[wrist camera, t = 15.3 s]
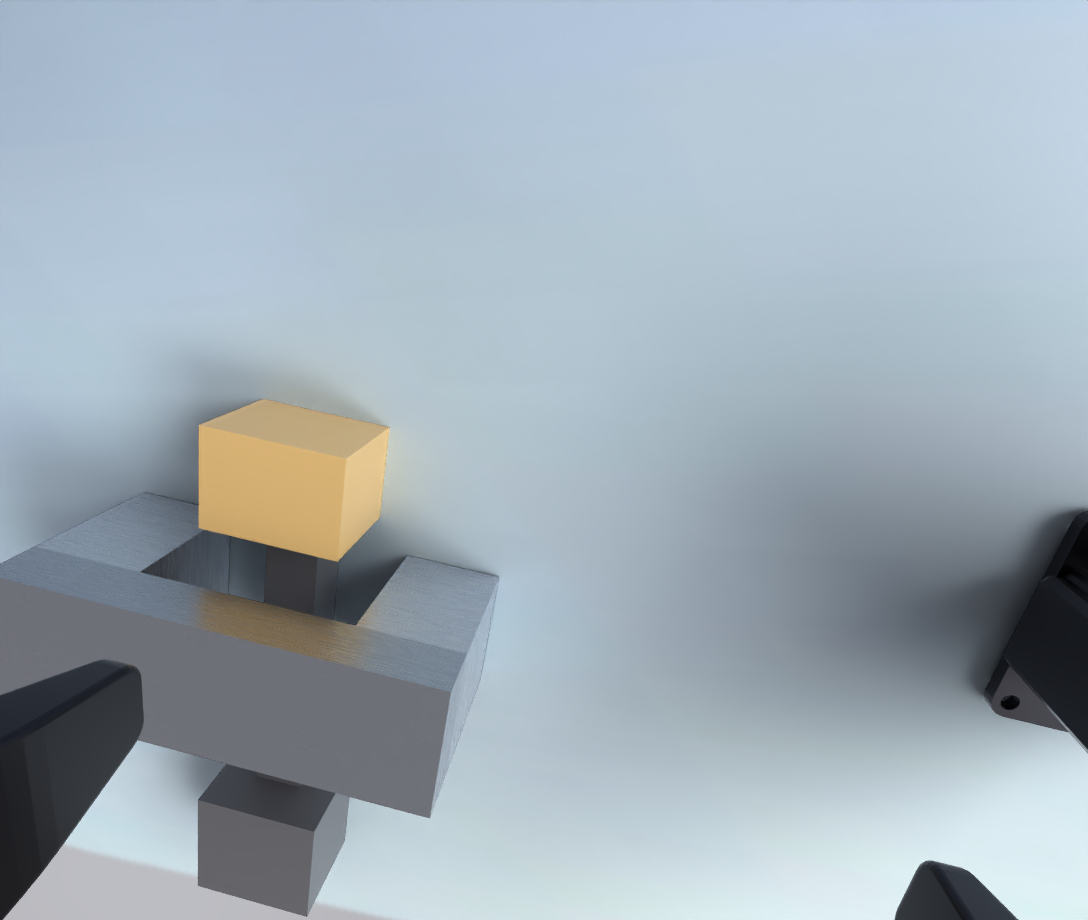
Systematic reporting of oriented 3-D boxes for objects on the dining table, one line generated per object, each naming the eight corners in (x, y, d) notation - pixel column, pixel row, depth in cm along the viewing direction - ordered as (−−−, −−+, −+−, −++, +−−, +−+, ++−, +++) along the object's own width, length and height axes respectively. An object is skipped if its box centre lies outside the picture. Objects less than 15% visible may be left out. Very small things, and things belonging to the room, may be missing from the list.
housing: (499, 577, 20) (451, 692, 15) (480, 679, 21) (429, 818, 16) (143, 492, 21) (-19, 572, 16) (147, 596, 22) (-2, 702, 17)
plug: (389, 427, 19) (346, 458, 16) (344, 840, 25) (307, 916, 22) (263, 398, 19) (198, 425, 16) (247, 813, 25) (197, 885, 22)
